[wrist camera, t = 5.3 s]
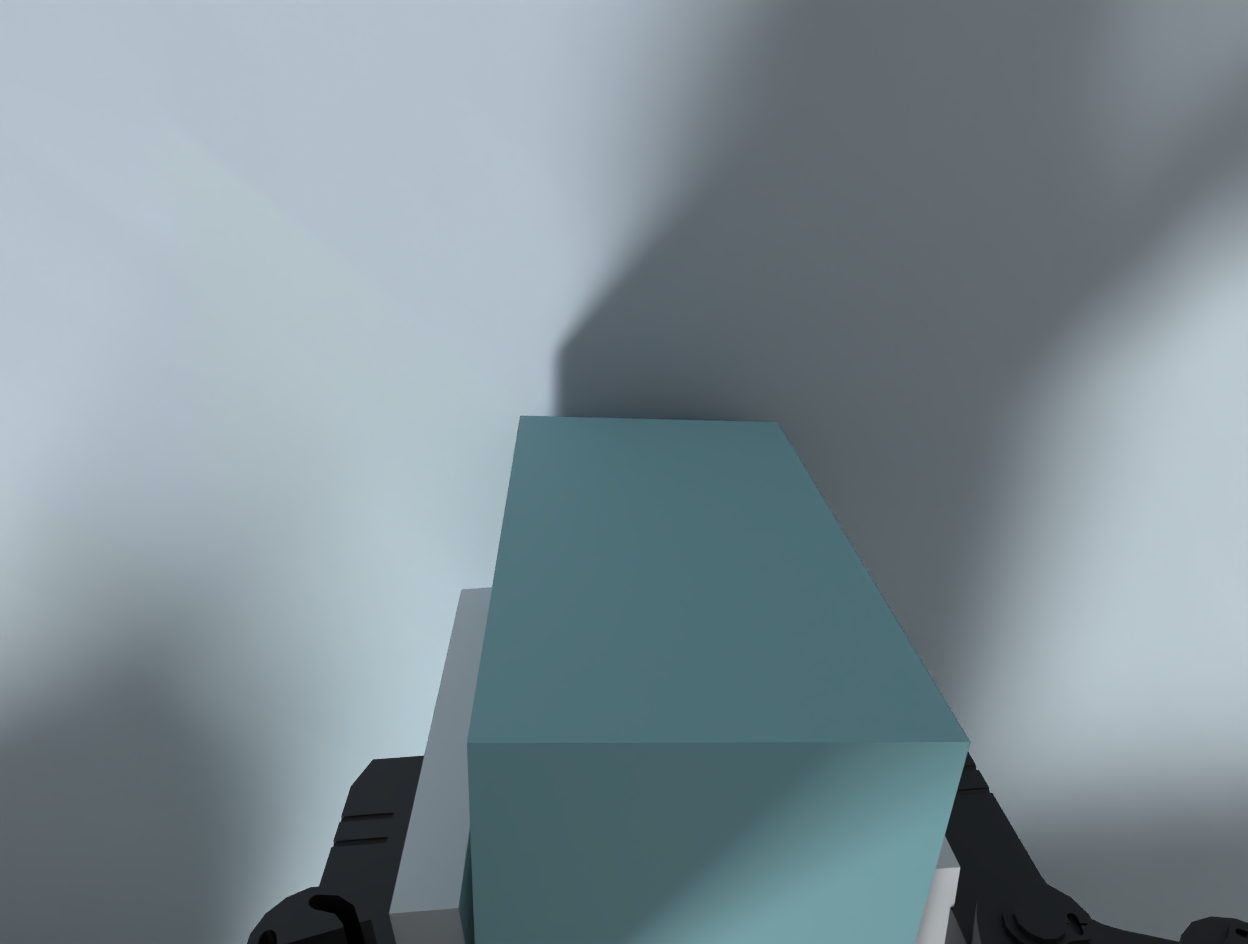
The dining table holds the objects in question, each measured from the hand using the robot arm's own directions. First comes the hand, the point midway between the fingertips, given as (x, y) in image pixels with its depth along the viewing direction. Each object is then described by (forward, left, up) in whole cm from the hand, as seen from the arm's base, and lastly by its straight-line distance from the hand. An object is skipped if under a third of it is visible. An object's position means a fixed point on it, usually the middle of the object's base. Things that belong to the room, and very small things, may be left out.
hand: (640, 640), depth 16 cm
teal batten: (+7, -1, -1) cm, 7 cm away
